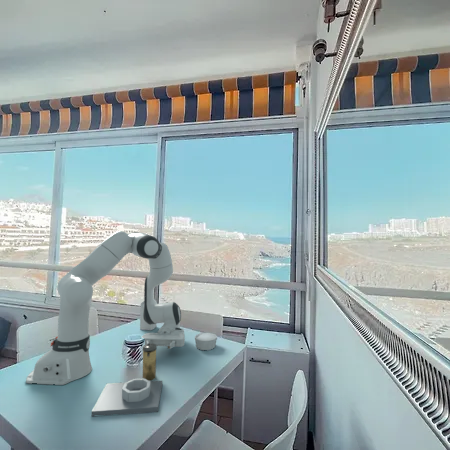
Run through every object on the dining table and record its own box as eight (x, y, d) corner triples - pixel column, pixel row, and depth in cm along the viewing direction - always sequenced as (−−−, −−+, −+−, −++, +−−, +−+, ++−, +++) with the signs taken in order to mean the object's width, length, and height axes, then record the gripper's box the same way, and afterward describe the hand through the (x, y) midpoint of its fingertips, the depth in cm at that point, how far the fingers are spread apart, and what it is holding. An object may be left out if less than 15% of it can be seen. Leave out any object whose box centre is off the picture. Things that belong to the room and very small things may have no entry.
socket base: (91, 416, 86) (91, 401, 86) (106, 387, 102) (106, 375, 102) (157, 411, 89) (158, 397, 89) (162, 384, 105) (162, 372, 105)
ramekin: (196, 342, 145) (196, 332, 146) (217, 342, 145) (217, 332, 145) (193, 351, 134) (193, 340, 134) (216, 352, 134) (216, 341, 134)
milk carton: (139, 329, 162) (140, 297, 163) (145, 325, 169) (146, 294, 170) (151, 330, 161) (152, 297, 162) (156, 326, 168) (157, 294, 169)
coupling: (155, 382, 106) (155, 350, 107) (140, 382, 106) (141, 350, 106) (157, 372, 114) (157, 342, 114) (143, 372, 113) (144, 342, 113)
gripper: (145, 328, 136) (135, 338, 123) (187, 329, 136) (181, 340, 122) (145, 341, 136) (134, 353, 122) (186, 342, 135) (181, 354, 122)
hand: (158, 346), depth 122 cm, fingers open, 8 cm apart
